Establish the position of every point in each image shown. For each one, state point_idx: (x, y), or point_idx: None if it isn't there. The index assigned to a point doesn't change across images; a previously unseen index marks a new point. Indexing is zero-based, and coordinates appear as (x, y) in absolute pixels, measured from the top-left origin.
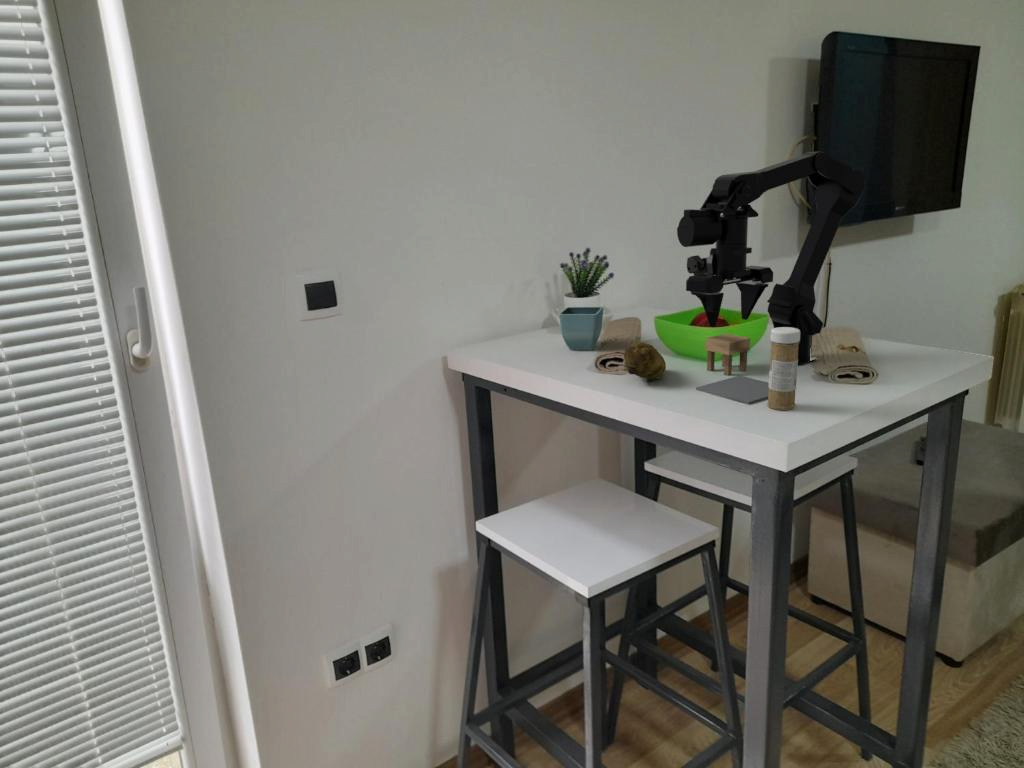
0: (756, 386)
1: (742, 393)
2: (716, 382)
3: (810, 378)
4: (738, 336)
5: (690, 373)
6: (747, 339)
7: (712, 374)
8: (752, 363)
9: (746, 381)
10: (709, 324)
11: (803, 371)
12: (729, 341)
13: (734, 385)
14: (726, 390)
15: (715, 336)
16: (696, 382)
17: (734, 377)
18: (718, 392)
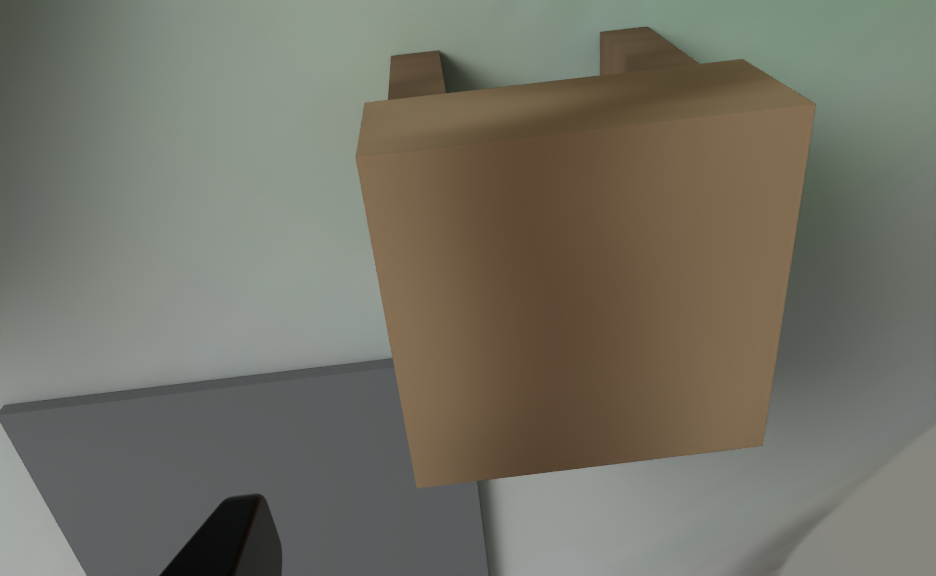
0: (366, 553)
1: None
2: (198, 402)
3: (760, 539)
4: (762, 321)
5: (191, 45)
6: (712, 448)
7: (347, 183)
8: (871, 114)
9: (392, 468)
10: (210, 515)
11: (877, 442)
12: (477, 438)
13: (266, 491)
14: (157, 533)
15: (552, 152)
16: (95, 283)
17: (389, 378)
18: (86, 540)
